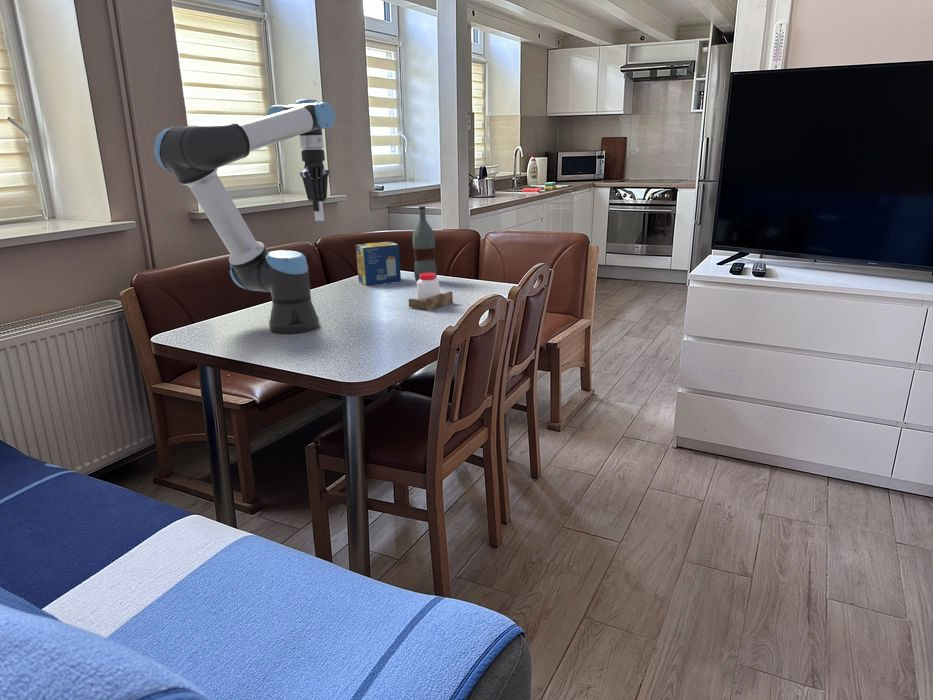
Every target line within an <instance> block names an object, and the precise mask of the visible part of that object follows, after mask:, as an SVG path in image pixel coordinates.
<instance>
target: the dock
mask: <svg viewBox="0 0 933 700" xmlns="http://www.w3.org/2000/svg"><path fill="white" fill-rule="evenodd" d="M450 303H451V304H453V303H454V300H453V291H450V290H449V291H447V292H444V293H441V292H440V295H436V296H433V297H430V298H427V299H426V300H419V299H417V298H408V308H409V307H412V308H411V309H415V308H418V309H417V310H422V309H425V310H424V311H427V310H431V311H433V310H436V309H439V308H442V307H445V306H448V305H451V304H450ZM447 304H448V305H447ZM444 305H445V306H444ZM441 306H442V307H441ZM438 307H439V308H438ZM435 308H436V309H435ZM432 309H433V310H432Z"/></svg>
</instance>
